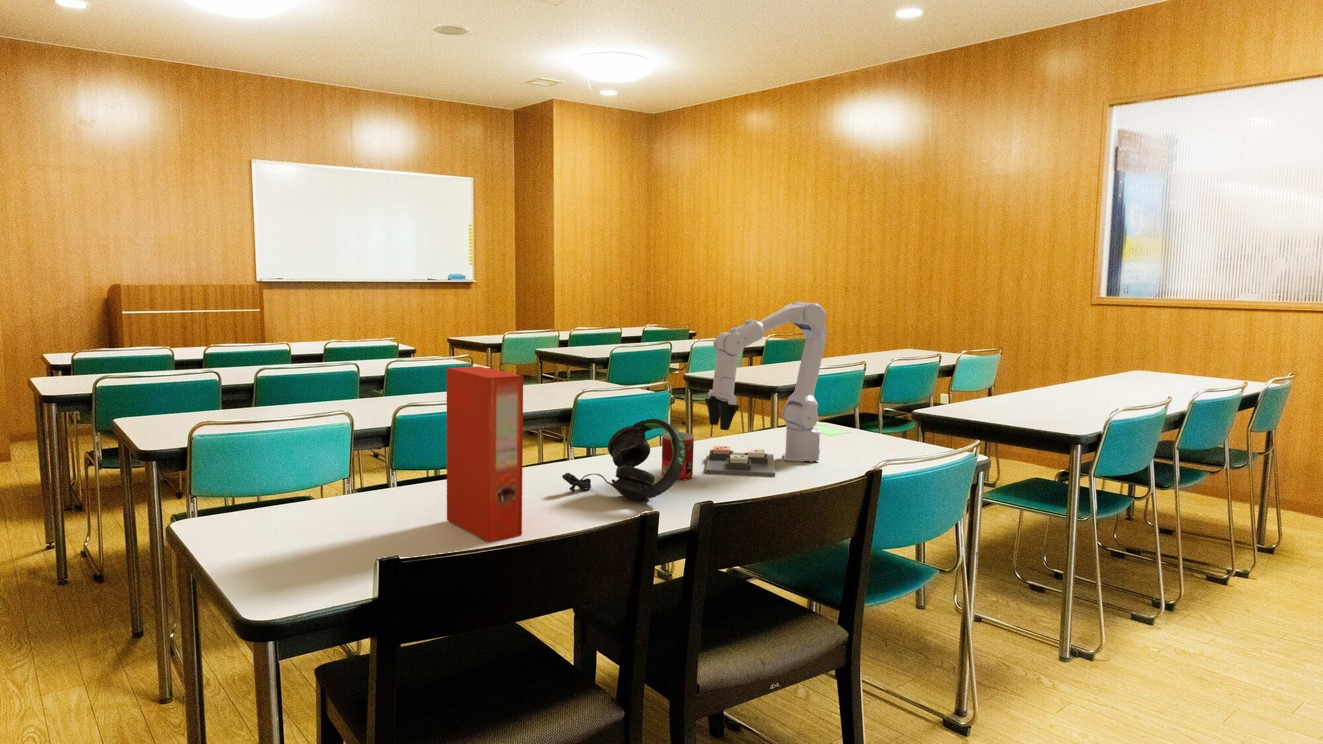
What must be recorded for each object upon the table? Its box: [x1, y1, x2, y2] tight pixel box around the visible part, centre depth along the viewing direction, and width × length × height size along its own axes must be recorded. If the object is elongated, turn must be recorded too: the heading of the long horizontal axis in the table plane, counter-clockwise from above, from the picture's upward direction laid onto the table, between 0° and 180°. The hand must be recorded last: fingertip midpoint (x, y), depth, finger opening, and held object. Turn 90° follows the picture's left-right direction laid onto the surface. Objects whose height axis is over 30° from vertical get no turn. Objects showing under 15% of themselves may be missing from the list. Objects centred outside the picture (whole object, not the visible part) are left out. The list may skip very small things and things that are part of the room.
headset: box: [561, 418, 685, 501], centre depth 197 cm, size 18×14×29 cm
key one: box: [746, 448, 766, 457], centre depth 233 cm, size 5×5×1 cm
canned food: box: [661, 431, 695, 481], centre depth 217 cm, size 8×8×11 cm
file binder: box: [446, 365, 524, 543], centre depth 171 cm, size 8×17×32 cm, turn 39°
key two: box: [730, 455, 748, 464], centre depth 226 cm, size 5×5×1 cm
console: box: [705, 449, 776, 478], centre depth 232 cm, size 18×22×2 cm
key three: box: [712, 445, 731, 454], centre depth 236 cm, size 5×5×1 cm
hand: (719, 427), depth 230 cm, fingers open, 7 cm apart
